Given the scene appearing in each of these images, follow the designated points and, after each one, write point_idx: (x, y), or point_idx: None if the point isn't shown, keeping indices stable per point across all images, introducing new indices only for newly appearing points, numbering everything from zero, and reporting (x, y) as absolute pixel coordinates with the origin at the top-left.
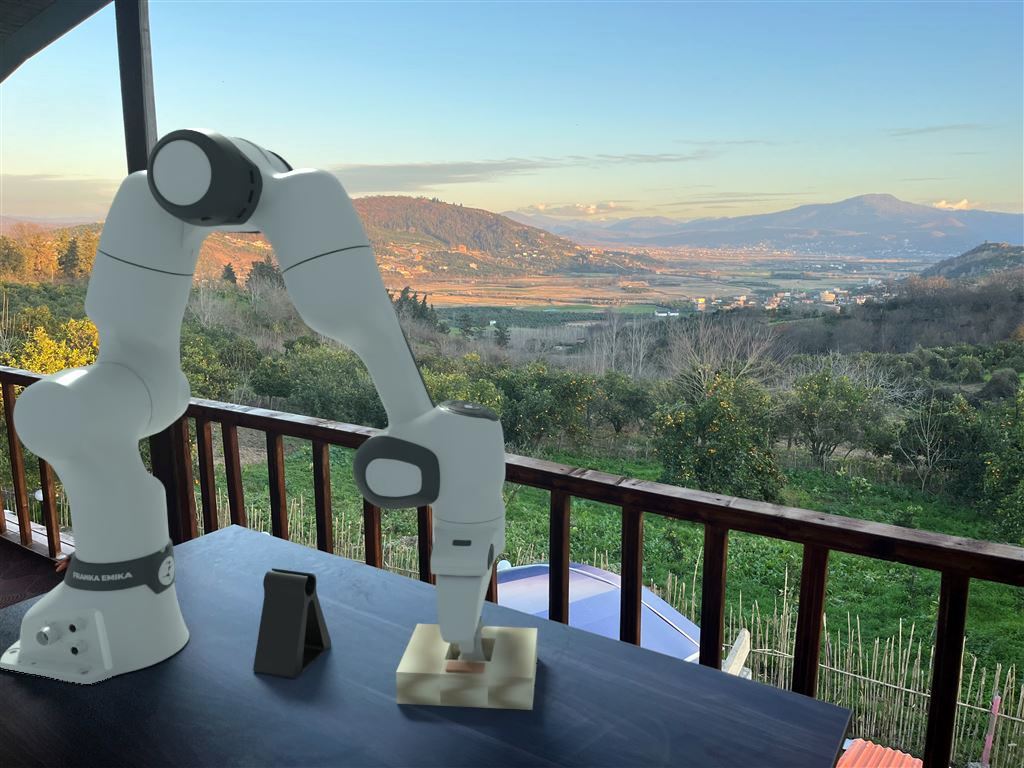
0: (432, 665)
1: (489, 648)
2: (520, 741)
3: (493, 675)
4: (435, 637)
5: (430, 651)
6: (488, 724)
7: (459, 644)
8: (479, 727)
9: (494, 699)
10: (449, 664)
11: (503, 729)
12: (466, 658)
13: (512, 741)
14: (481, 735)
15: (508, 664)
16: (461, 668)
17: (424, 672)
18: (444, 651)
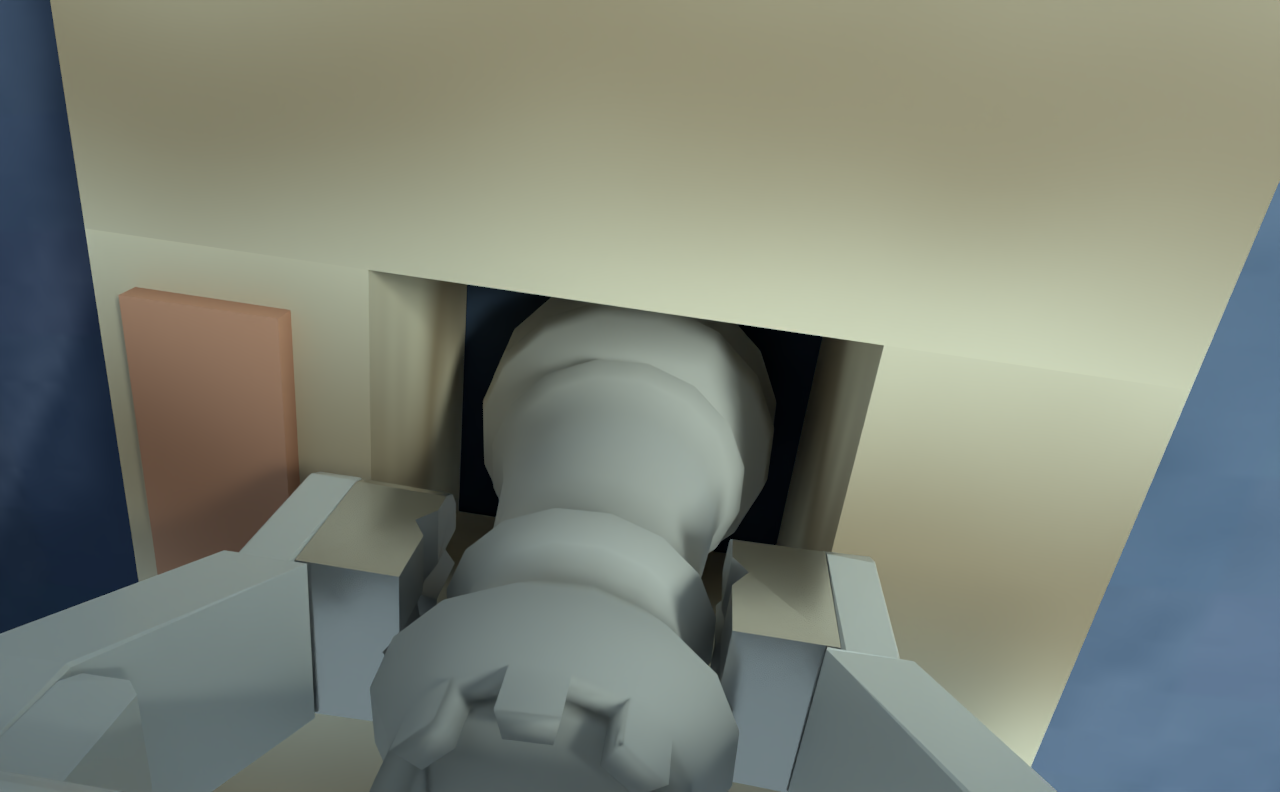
0: (229, 137)
1: None
2: (16, 617)
3: None
4: (901, 137)
5: (537, 91)
6: (121, 476)
7: (279, 513)
8: (80, 425)
9: None
10: (222, 331)
11: (94, 549)
12: (512, 459)
13: (5, 582)
14: (9, 433)
15: (340, 777)
16: (169, 444)
17: (74, 50)
18: (539, 264)
